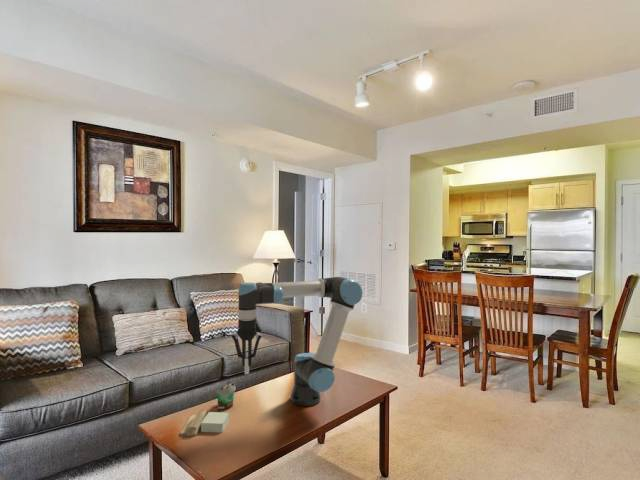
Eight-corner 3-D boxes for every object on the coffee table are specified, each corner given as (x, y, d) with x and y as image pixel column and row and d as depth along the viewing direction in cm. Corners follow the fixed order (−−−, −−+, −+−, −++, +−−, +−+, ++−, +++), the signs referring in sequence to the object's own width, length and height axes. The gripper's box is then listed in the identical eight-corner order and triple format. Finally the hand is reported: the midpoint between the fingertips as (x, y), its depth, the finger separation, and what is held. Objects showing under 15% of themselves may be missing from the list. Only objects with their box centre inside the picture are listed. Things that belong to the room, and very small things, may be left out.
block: (228, 421, 169) (229, 412, 169) (222, 433, 159) (222, 423, 159) (208, 421, 169) (208, 412, 169) (201, 432, 159) (201, 423, 159)
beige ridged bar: (206, 417, 172) (206, 409, 172) (196, 435, 156) (196, 427, 156) (191, 417, 172) (192, 409, 172) (180, 435, 156) (180, 426, 156)
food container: (228, 413, 177) (229, 391, 177) (216, 411, 178) (216, 390, 178) (239, 401, 189) (239, 381, 189) (227, 400, 190) (228, 380, 190)
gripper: (263, 316, 169) (262, 370, 170) (233, 316, 169) (233, 370, 169) (261, 320, 162) (260, 376, 162) (230, 320, 161) (229, 376, 162)
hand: (246, 373), depth 166 cm, fingers closed
